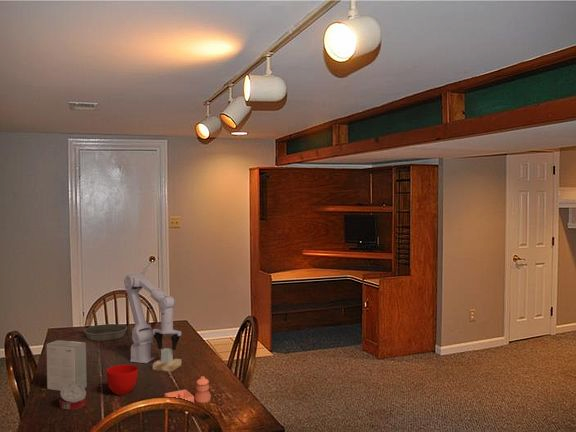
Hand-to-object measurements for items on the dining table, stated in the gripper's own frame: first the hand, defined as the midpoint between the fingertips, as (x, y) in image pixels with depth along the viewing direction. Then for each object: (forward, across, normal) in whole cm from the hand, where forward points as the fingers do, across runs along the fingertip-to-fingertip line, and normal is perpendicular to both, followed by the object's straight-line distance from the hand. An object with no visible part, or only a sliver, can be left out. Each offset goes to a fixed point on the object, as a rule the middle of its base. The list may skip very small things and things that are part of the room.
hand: (167, 349), depth 271 cm
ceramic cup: (+9, -3, -35) cm, 36 cm away
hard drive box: (+9, -27, -39) cm, 48 cm away
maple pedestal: (+9, 0, 0) cm, 9 cm away
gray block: (+6, 0, 0) cm, 6 cm away
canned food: (+9, -12, -54) cm, 56 cm away
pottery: (+9, +32, -38) cm, 50 cm away
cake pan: (+10, -65, +42) cm, 78 cm away
